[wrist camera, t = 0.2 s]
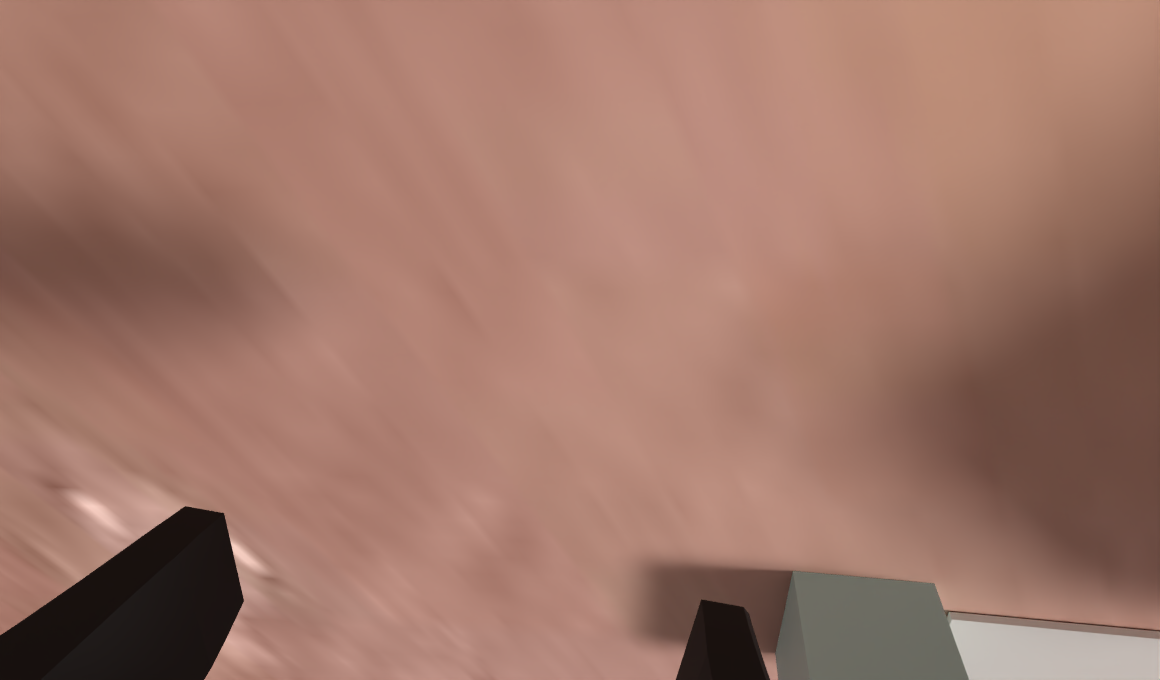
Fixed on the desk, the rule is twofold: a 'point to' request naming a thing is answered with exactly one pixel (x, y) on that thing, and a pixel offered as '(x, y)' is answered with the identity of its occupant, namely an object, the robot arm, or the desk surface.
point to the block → (865, 631)
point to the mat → (1052, 649)
